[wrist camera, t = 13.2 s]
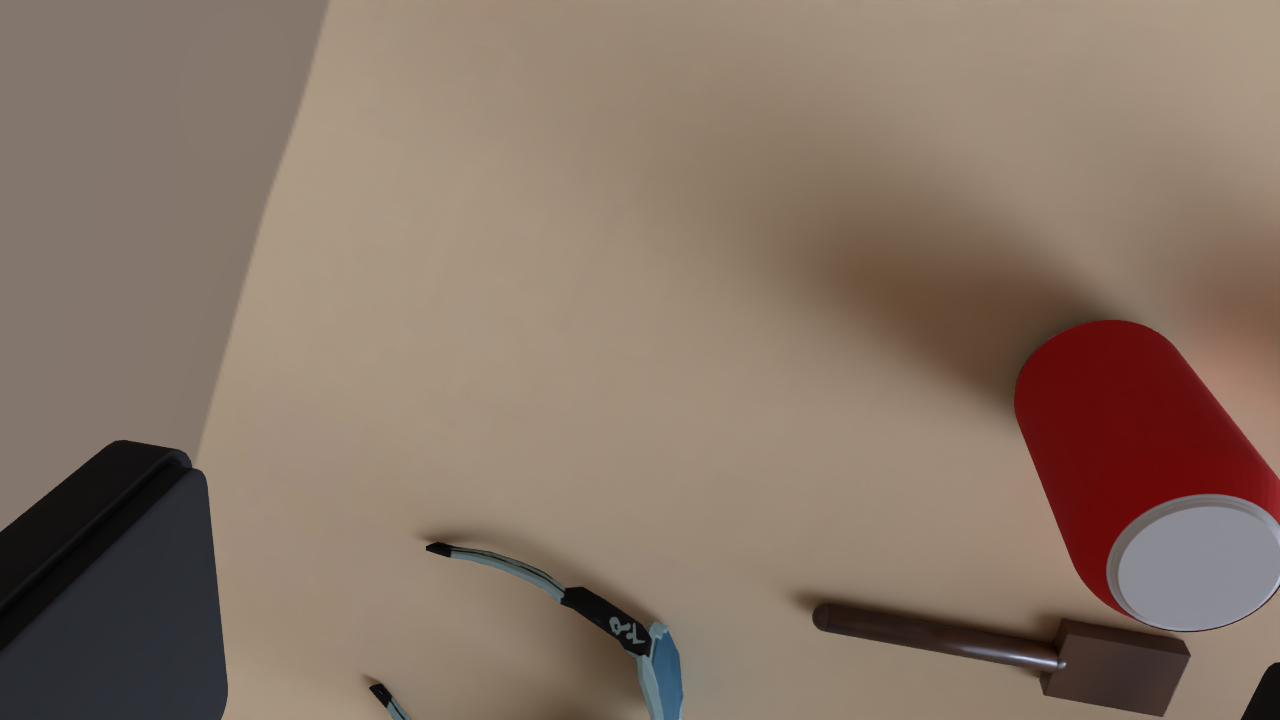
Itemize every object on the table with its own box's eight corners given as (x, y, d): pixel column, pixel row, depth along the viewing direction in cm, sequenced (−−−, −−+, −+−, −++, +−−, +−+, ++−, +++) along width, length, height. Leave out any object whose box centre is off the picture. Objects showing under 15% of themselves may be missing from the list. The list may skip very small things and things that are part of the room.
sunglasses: (624, 820, 53) (595, 900, 49) (381, 683, 54) (331, 749, 50) (738, 638, 47) (717, 711, 43) (460, 488, 48) (411, 543, 44)
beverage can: (975, 381, 40) (1036, 565, 29) (1107, 276, 37) (1228, 435, 27) (1078, 477, 41) (1173, 688, 30) (1212, 381, 38) (1369, 575, 28)
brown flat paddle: (805, 637, 47) (805, 655, 46) (819, 575, 45) (820, 592, 44) (1156, 701, 45) (1165, 721, 44) (1183, 639, 44) (1193, 659, 43)
